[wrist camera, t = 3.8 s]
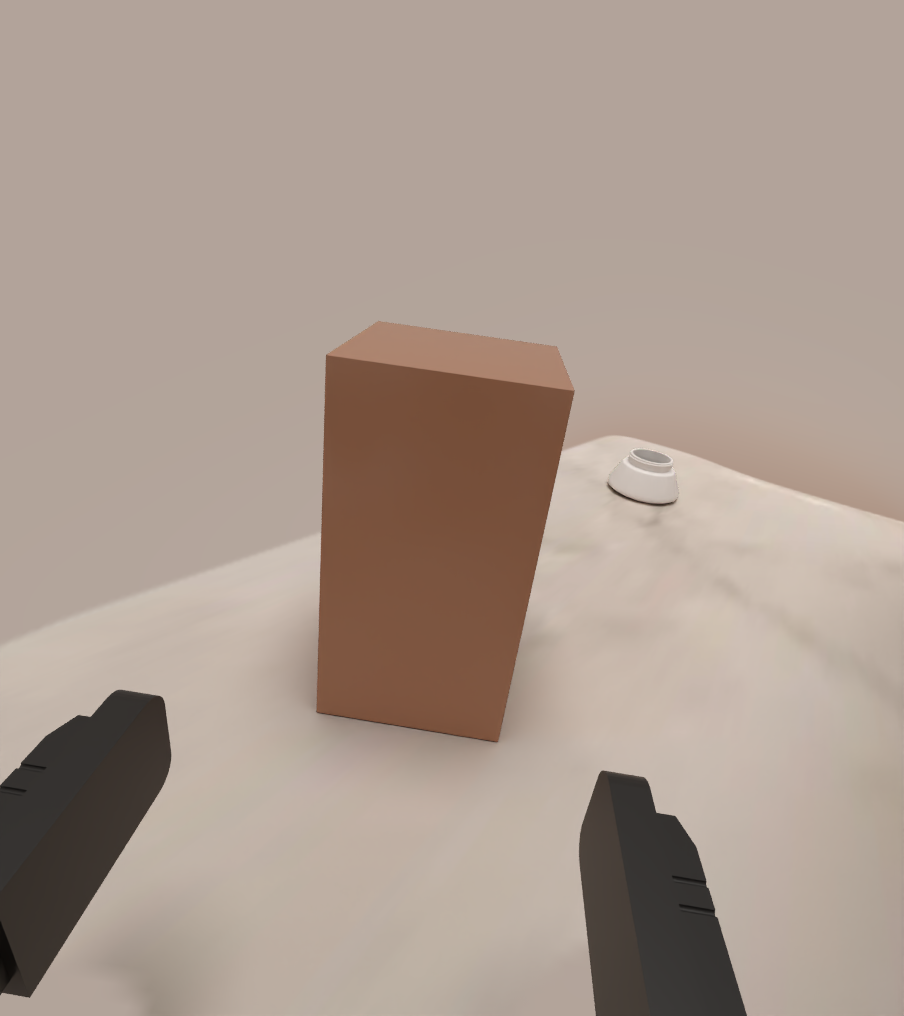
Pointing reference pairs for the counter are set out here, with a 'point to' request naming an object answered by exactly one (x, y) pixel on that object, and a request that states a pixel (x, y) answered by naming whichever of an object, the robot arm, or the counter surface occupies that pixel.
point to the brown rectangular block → (433, 521)
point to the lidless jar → (645, 477)
